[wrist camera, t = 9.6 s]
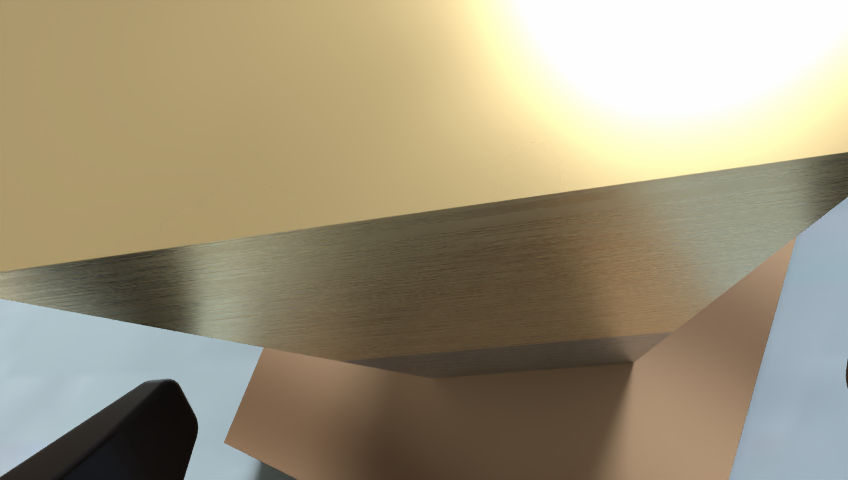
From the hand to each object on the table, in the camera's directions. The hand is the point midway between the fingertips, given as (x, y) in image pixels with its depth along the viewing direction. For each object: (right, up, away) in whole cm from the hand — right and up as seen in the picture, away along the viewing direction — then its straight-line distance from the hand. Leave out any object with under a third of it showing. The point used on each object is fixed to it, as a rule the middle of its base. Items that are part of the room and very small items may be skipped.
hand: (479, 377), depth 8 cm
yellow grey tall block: (+2, +1, +8) cm, 8 cm away
